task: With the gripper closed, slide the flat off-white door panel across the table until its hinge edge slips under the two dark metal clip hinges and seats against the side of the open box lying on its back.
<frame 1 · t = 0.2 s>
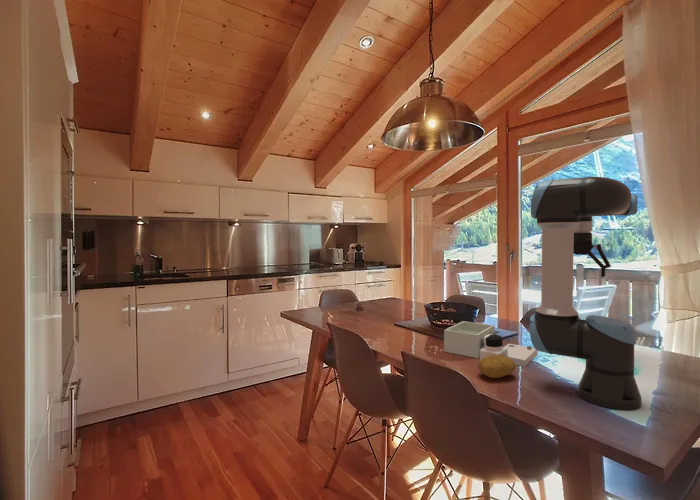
hand: (580, 283, 156), 28 cm above the table, fingers open, 13 cm apart
medicine bottle: (494, 369, 135), on the table, touching potato
potato: (496, 377, 128), on the table, touching medicine bottle
open box: (469, 348, 159), on the table
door: (516, 358, 148), on the table
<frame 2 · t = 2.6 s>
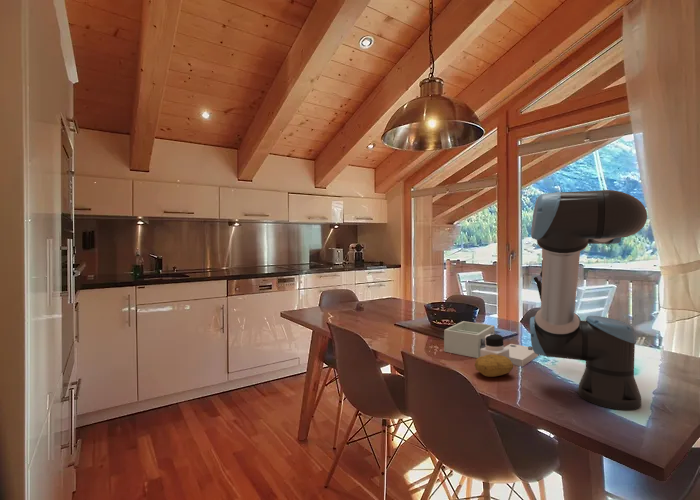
hand: (552, 322, 140), 15 cm above the table, fingers closed
potato: (493, 376, 128), on the table, touching medicine bottle
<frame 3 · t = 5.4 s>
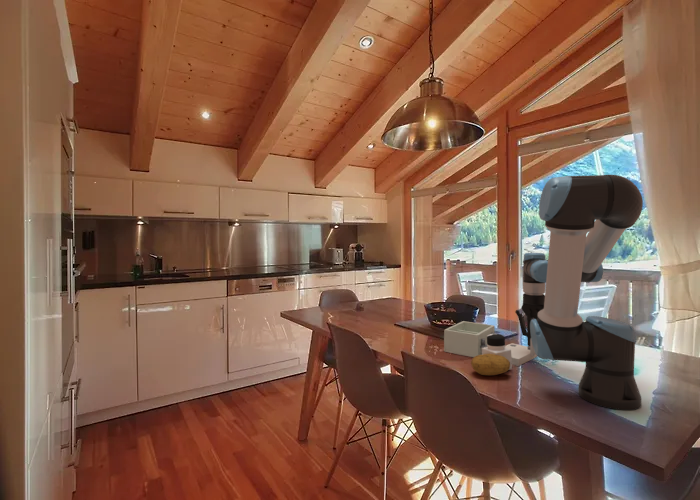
hand: (533, 354, 144), 2 cm above the table, fingers closed
potato: (490, 375, 129), on the table, touching medicine bottle
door: (514, 358, 148), on the table, touching gripper
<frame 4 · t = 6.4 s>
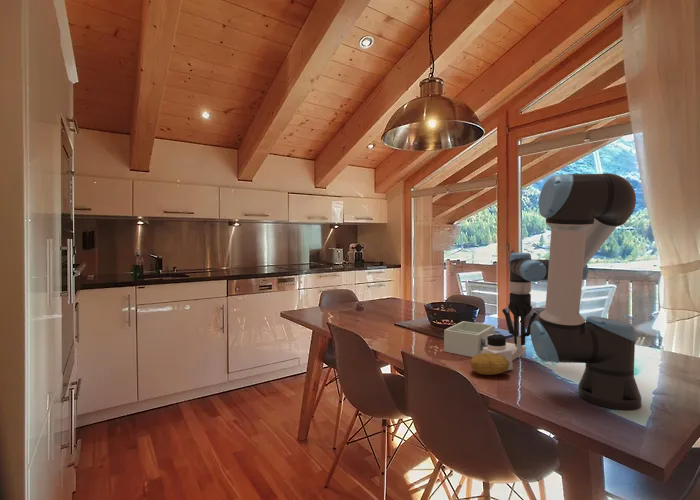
hand: (519, 352, 147), 2 cm above the table, fingers closed
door: (503, 355, 152), on the table
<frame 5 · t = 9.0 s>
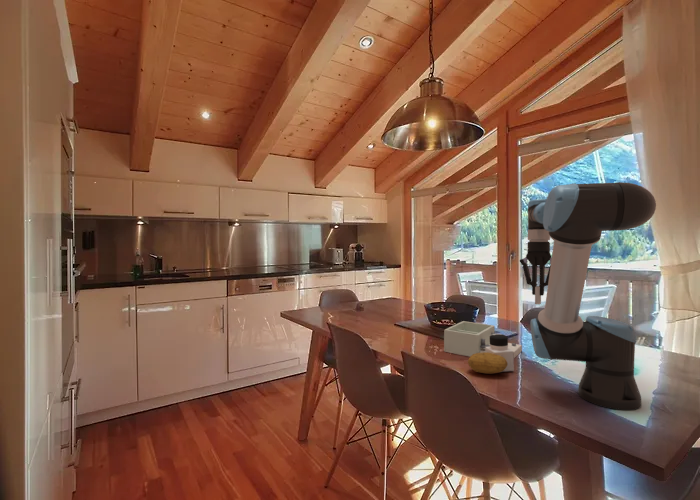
hand: (537, 303, 142), 22 cm above the table, fingers closed
potato: (487, 373, 131), on the table, touching medicine bottle
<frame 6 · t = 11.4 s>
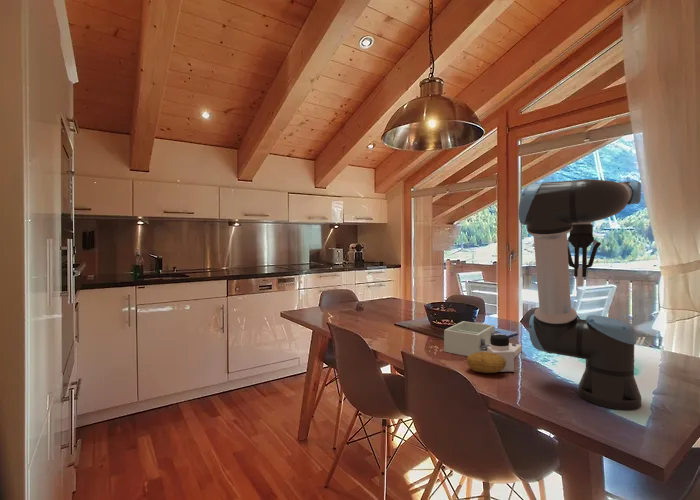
hand: (580, 285, 145), 28 cm above the table, fingers closed
at the end: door 1.1 cm from the target spot on the table beside the open box, on the table; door tilted 0° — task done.
